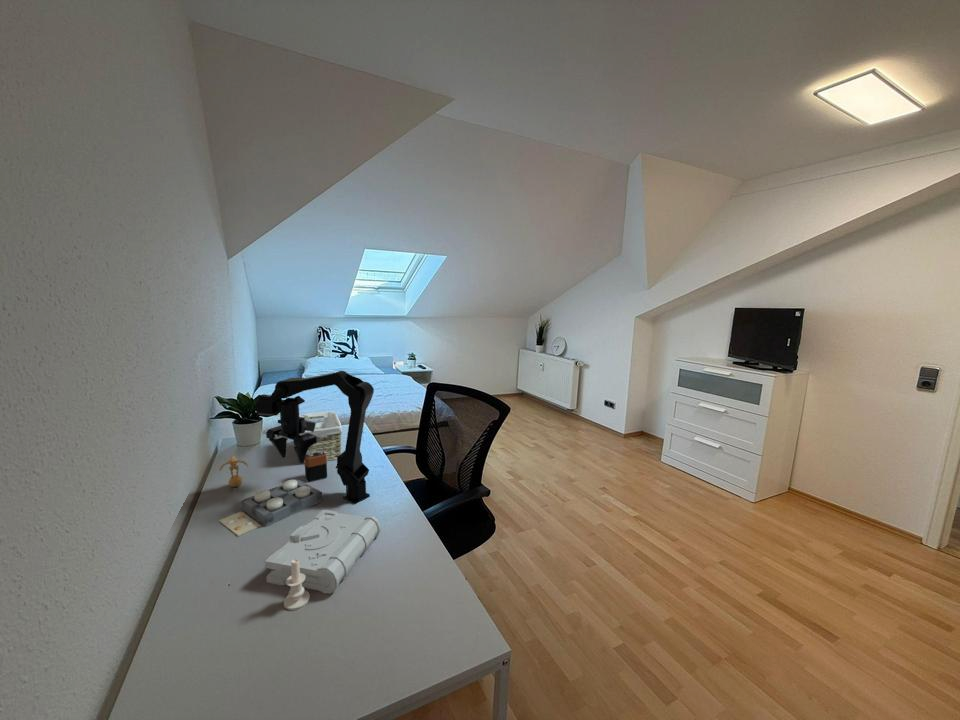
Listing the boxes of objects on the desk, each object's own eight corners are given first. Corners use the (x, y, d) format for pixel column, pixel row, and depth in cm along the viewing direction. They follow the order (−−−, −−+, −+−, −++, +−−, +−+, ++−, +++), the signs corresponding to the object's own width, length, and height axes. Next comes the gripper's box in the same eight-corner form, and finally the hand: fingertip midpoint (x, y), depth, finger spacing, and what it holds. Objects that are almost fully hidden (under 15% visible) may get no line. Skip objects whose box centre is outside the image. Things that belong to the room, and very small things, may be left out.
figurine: (250, 481, 137) (247, 449, 135) (249, 489, 132) (246, 456, 130) (222, 486, 133) (219, 453, 131) (220, 494, 128) (217, 460, 126)
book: (389, 527, 113) (389, 503, 112) (335, 599, 86) (333, 568, 85) (331, 519, 117) (330, 495, 116) (261, 585, 90) (259, 555, 89)
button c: (286, 506, 117) (285, 500, 117) (271, 512, 114) (271, 506, 113) (278, 501, 120) (278, 496, 119) (264, 508, 116) (263, 501, 116)
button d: (273, 498, 121) (272, 492, 121) (258, 504, 118) (258, 498, 117) (266, 494, 124) (265, 488, 123) (251, 500, 120) (251, 494, 120)
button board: (322, 500, 126) (322, 492, 125) (266, 526, 111) (266, 516, 111) (297, 486, 134) (296, 479, 134) (242, 509, 120) (241, 500, 119)
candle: (303, 588, 88) (300, 547, 87) (314, 600, 85) (312, 558, 83) (279, 601, 84) (276, 559, 83) (290, 614, 81) (288, 570, 80)
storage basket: (344, 460, 157) (343, 425, 155) (300, 467, 150) (298, 431, 147) (335, 440, 178) (334, 409, 176) (297, 445, 171) (295, 414, 168)
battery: (327, 477, 142) (326, 452, 140) (308, 482, 138) (306, 456, 136) (324, 473, 145) (323, 448, 144) (305, 477, 141) (303, 452, 139)
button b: (300, 487, 129) (299, 482, 128) (287, 492, 125) (287, 487, 125) (292, 483, 131) (292, 478, 131) (280, 488, 128) (279, 483, 127)
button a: (313, 494, 125) (312, 488, 124) (300, 500, 121) (299, 494, 121) (305, 490, 127) (305, 484, 127) (292, 495, 123) (292, 490, 123)
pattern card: (260, 526, 111) (260, 524, 111) (238, 536, 106) (238, 535, 106) (241, 512, 118) (241, 511, 118) (219, 521, 113) (219, 520, 113)
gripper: (329, 414, 130) (331, 457, 132) (293, 406, 138) (296, 447, 141) (300, 423, 120) (303, 470, 122) (263, 414, 129) (267, 457, 131)
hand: (292, 460), depth 129 cm, fingers open, 9 cm apart
